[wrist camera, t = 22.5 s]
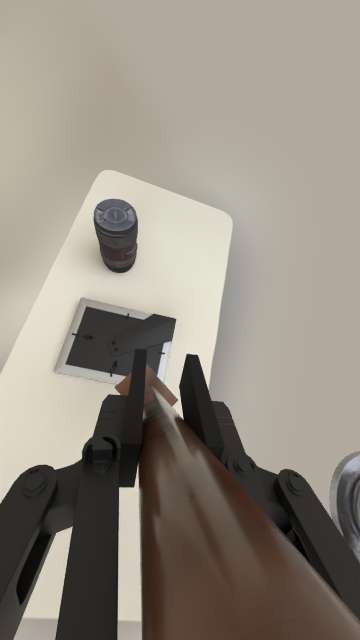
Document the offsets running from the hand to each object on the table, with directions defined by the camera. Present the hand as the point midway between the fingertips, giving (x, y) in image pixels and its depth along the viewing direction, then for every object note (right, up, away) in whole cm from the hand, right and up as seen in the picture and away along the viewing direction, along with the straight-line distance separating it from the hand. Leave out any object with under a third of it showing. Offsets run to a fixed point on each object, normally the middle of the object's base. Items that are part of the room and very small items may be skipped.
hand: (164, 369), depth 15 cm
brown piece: (-4, -7, +18) cm, 20 cm away
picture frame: (-12, -2, +34) cm, 36 cm away
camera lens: (-14, +18, +40) cm, 46 cm away
